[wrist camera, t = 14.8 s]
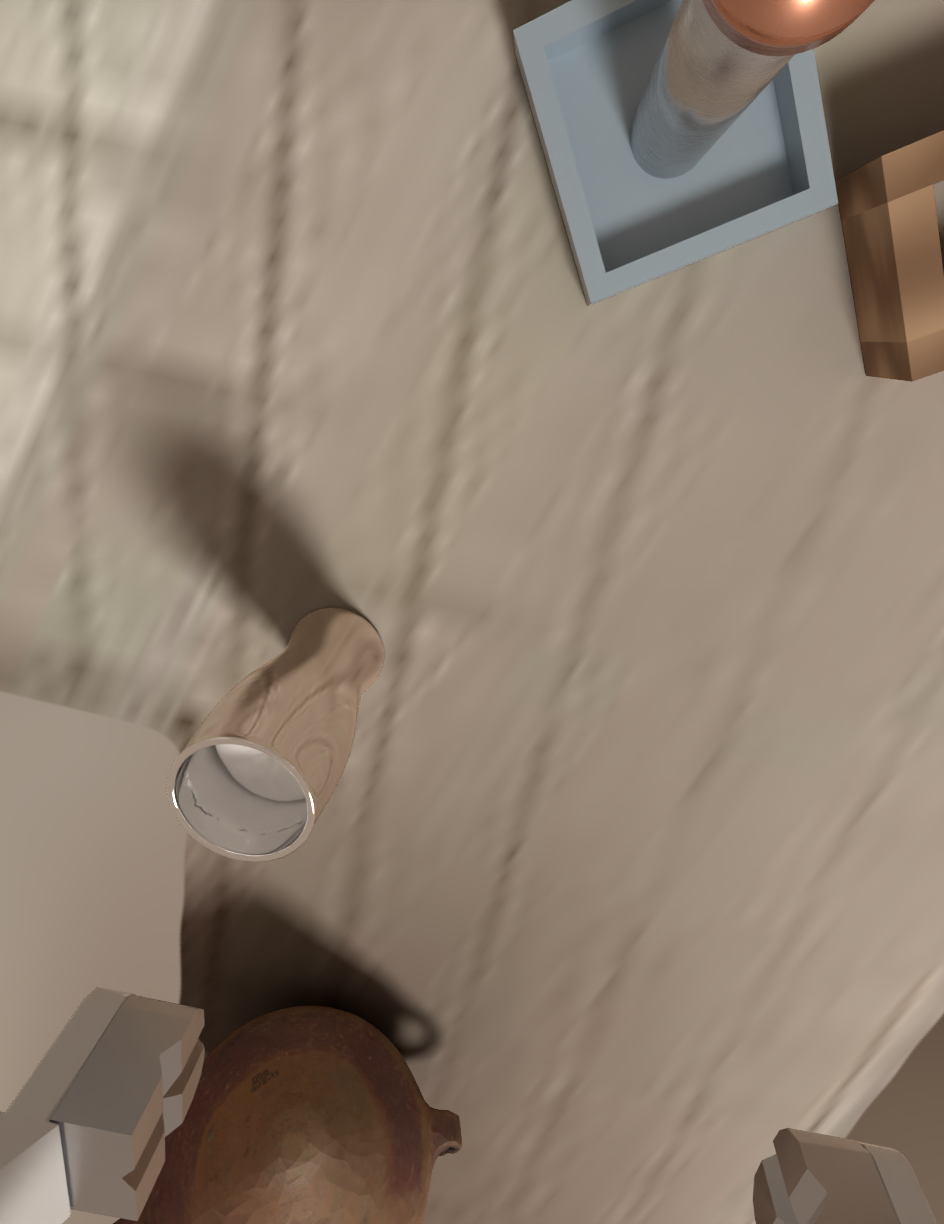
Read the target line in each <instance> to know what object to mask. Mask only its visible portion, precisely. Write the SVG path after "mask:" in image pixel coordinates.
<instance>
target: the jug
mask: <svg viewBox="0 0 944 1224" xmlns="http://www.w3.org/2000/svg"><path fill="white" fill-rule="evenodd" d="M461 1148H462V1138H461V1128H460V1121H459V1116H458V1115H456V1114H455V1113H453V1112H451V1111H449V1110H438V1109H434V1108H432V1107H430V1106H429V1105H428V1104H427V1103H426V1102H425V1100H424V1098H423V1096H422V1094H421V1092H420V1090H419V1087H418V1085H417V1083H416V1081H415V1079H414V1077H413V1075H412V1073H411V1071H410V1069H409V1067H408V1065H407V1063H406V1062H405V1060H404V1058H403V1057H402V1055H401V1054H400V1053H399V1051H398V1050H397V1048H396V1047H395V1046H394V1045H393V1044H392V1042H391V1041H390V1040H389V1039H388V1038H387V1037H386V1036H385V1035H384V1034H382V1033H381V1032H380V1031H379V1030H378V1029H377V1028H375V1027H374V1026H373V1025H371V1024H370V1023H368V1022H367V1021H365V1020H364V1019H362V1018H360V1017H358V1016H356V1015H354V1014H352V1013H349V1012H346V1011H342V1010H339V1009H335V1008H331V1007H323V1006H295V1007H289V1008H285V1009H281V1010H277V1011H273V1012H270V1013H267V1014H265V1015H262V1016H260V1017H257V1018H255V1019H253V1020H251V1021H250V1022H248V1023H246V1024H245V1025H243V1026H241V1027H240V1028H238V1029H237V1030H236V1031H235V1032H233V1033H232V1034H231V1035H230V1036H228V1037H227V1038H226V1039H225V1040H224V1041H222V1042H221V1043H220V1044H219V1045H218V1046H217V1047H216V1048H215V1049H214V1050H213V1051H212V1052H211V1053H210V1054H209V1055H208V1056H207V1057H206V1058H205V1059H204V1062H203V1067H202V1073H201V1076H200V1079H199V1082H198V1085H197V1088H196V1091H195V1095H194V1098H193V1100H192V1102H191V1105H190V1107H189V1109H188V1112H187V1114H186V1116H185V1118H184V1121H183V1123H182V1124H181V1125H179V1126H178V1127H177V1128H176V1129H174V1130H173V1131H172V1132H171V1133H170V1134H168V1135H167V1136H166V1137H165V1163H164V1165H163V1167H162V1169H161V1171H160V1173H159V1176H158V1178H157V1180H156V1182H155V1184H154V1186H153V1189H152V1191H151V1193H150V1195H149V1197H148V1200H147V1202H146V1204H145V1206H144V1208H143V1210H142V1213H141V1215H140V1217H139V1219H138V1221H134V1220H128V1219H123V1218H120V1219H119V1220H117V1221H116V1222H115V1223H113V1224H421V1223H422V1220H423V1216H424V1212H425V1208H426V1203H427V1197H428V1192H429V1186H430V1180H431V1173H432V1169H433V1166H434V1163H435V1160H436V1159H437V1157H438V1156H444V1155H445V1154H447V1153H451V1154H454V1153H456V1152H458V1151H459V1150H460V1149H461Z"/></svg>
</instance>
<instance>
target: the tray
mask: <svg viewBox="0 0 944 1224" xmlns="http://www.w3.org/2000/svg"><path fill="white" fill-rule="evenodd" d="M682 1H683V0H571V1H569V2H567V3H565V4H563V5H561V6H559V7H557V8H555V9H553V10H552V11H550V12H548V13H546V14H544V15H542V16H540V17H538V18H536V19H534V20H532V21H530V22H528V23H526V24H524V25H522V26H520V27H518V28H516V29H514V30H513V35H514V47H515V55H516V59H517V62H518V65H519V69H520V72H521V76H522V79H523V83H524V86H525V90H526V93H527V97H528V100H529V104H530V107H531V111H532V114H533V118H534V121H535V125H536V128H537V132H538V135H539V139H540V142H541V145H542V149H543V152H544V156H545V159H546V163H547V166H548V170H549V173H550V177H551V180H552V184H553V187H554V191H555V194H556V198H557V201H558V205H559V208H560V212H561V215H562V219H563V222H564V225H565V229H566V232H567V236H568V239H569V243H570V246H571V250H572V253H573V257H574V260H575V264H576V267H577V271H578V274H579V278H580V281H581V285H582V288H583V292H584V295H585V299H586V302H587V306H589V305H591V304H594V303H596V302H599V301H601V300H604V299H606V298H609V297H611V296H614V295H616V294H619V293H621V292H624V291H626V290H628V289H631V288H633V287H636V286H638V285H641V284H643V283H646V282H648V281H651V280H653V279H656V278H658V277H661V276H663V275H665V274H668V273H670V272H673V271H675V270H678V269H680V268H683V267H685V266H688V265H690V264H693V263H695V262H697V261H700V260H702V259H705V258H707V257H710V256H712V255H715V254H717V253H720V252H722V251H725V250H727V249H730V248H732V247H734V246H737V245H739V244H742V243H744V242H747V241H749V240H752V239H754V238H757V237H759V236H762V235H764V234H767V233H769V232H771V231H774V230H776V229H779V228H781V227H784V226H786V225H789V224H791V223H794V222H796V221H799V220H801V219H803V218H806V217H808V216H811V215H813V214H816V213H818V212H820V211H823V210H825V209H827V208H829V207H832V206H834V205H836V204H838V198H837V192H836V186H835V180H834V173H833V167H832V161H831V154H830V148H829V142H828V136H827V129H826V123H825V117H824V111H823V104H822V98H821V92H820V85H819V79H818V73H817V67H816V60H815V54H814V49H811V50H809V51H806V52H803V53H799V54H795V55H794V56H793V57H792V59H791V60H790V61H789V62H788V63H787V64H786V65H785V66H784V67H783V69H782V70H781V71H780V72H779V73H778V74H777V75H776V76H775V77H774V79H773V80H772V81H771V82H770V83H769V84H768V85H767V86H766V87H765V89H764V90H763V91H762V92H761V93H760V94H759V95H758V96H757V98H756V99H755V100H754V101H753V102H752V103H751V104H750V105H749V106H748V108H747V109H746V110H745V111H744V112H743V113H742V114H741V115H740V116H739V118H738V119H737V120H736V121H735V122H734V123H733V124H732V125H731V126H730V128H729V129H728V130H727V131H726V132H725V133H724V134H723V135H722V136H721V138H720V139H719V140H718V141H717V142H716V143H715V144H714V145H713V147H712V148H711V149H710V150H709V151H708V152H707V153H706V154H705V155H704V157H703V158H702V159H701V160H700V161H699V162H698V163H697V164H696V165H695V166H694V167H693V168H692V169H691V170H690V171H688V172H687V173H685V174H683V175H681V176H678V177H676V178H671V179H661V178H656V177H653V176H651V175H649V174H648V173H646V172H645V171H644V170H643V169H642V168H641V167H640V166H639V165H638V163H637V162H636V160H635V158H634V156H633V153H632V150H631V145H630V130H631V124H632V120H633V117H634V115H635V112H636V110H637V108H638V105H639V103H640V100H641V98H642V96H643V93H644V91H645V89H646V86H647V84H648V81H649V79H650V77H651V74H652V72H653V70H654V67H655V65H656V62H657V60H658V58H659V55H660V53H661V51H662V48H663V46H664V43H665V41H666V39H667V36H668V34H669V32H670V29H671V27H672V24H673V22H674V20H675V17H676V15H677V13H678V10H679V8H680V5H681V3H682Z"/></svg>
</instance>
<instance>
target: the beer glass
mask: <svg viewBox="0 0 944 1224" xmlns="http://www.w3.org/2000/svg"><path fill="white" fill-rule="evenodd" d="M383 664H384V647H383V643H382V641H381V638H380V636H379V634H378V633H377V631H376V630H375V628H374V627H373V626H372V625H371V624H370V623H369V622H368V621H367V620H366V619H364V618H363V617H362V616H360V615H358V614H356V613H354V612H352V611H349V610H346V609H342V608H322V609H318V610H315V611H313V612H311V613H309V614H307V615H306V616H305V617H303V618H302V619H301V620H300V621H299V622H298V624H297V625H296V626H295V628H294V630H293V632H292V634H291V637H290V640H289V643H288V645H287V646H286V649H285V650H284V651H283V652H282V653H280V654H279V655H277V656H276V657H274V658H273V659H271V660H270V661H268V662H267V663H265V664H264V665H262V666H261V667H259V668H258V669H256V670H255V671H253V672H252V673H250V674H249V675H248V676H247V677H245V678H244V679H243V680H242V681H240V682H239V683H238V684H236V685H235V686H234V687H233V688H232V689H231V690H230V691H229V692H228V693H227V694H226V695H225V696H224V697H223V698H222V699H221V700H220V701H219V702H218V703H217V705H216V706H215V707H214V708H213V710H212V711H211V712H210V713H209V714H208V716H207V717H206V718H205V719H204V721H203V722H202V724H201V725H200V726H199V728H198V729H197V731H196V732H195V733H194V735H193V736H192V738H191V739H190V741H189V742H188V744H187V745H186V747H185V748H184V750H183V751H182V753H181V754H180V755H179V756H178V757H177V758H176V759H175V761H174V762H173V764H172V766H171V768H170V771H169V775H168V778H167V795H168V800H169V804H170V806H171V809H172V811H173V813H174V815H175V817H176V819H177V820H178V822H179V823H180V825H181V826H182V827H183V828H184V829H185V830H186V832H187V833H188V834H189V835H190V836H191V837H193V838H194V839H195V840H196V841H197V842H199V843H200V844H202V845H203V846H205V847H206V848H208V849H210V850H211V851H213V852H215V853H218V854H220V855H222V856H225V857H228V858H231V859H235V860H240V861H247V862H265V861H271V860H275V859H279V858H282V857H284V856H287V855H289V854H290V853H292V852H294V851H295V850H297V849H298V848H299V847H300V846H301V845H302V844H303V843H304V842H305V841H306V839H307V838H308V837H309V835H310V833H311V831H312V828H313V826H314V824H315V823H316V821H317V819H318V818H319V816H320V815H321V813H322V811H323V810H324V808H325V806H326V805H327V803H328V801H329V800H330V798H331V796H332V794H333V792H334V790H335V788H336V786H337V785H338V783H339V781H340V779H341V776H342V774H343V772H344V769H345V767H346V764H347V761H348V759H349V756H350V753H351V749H352V745H353V741H354V737H355V732H356V725H357V719H358V712H359V705H360V700H361V697H362V695H363V694H364V693H365V692H366V691H367V690H368V689H369V688H370V687H371V686H372V685H373V683H374V682H375V681H376V680H377V678H378V677H379V675H380V673H381V671H382V668H383Z"/></svg>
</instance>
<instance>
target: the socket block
mask: <svg viewBox="0 0 944 1224" xmlns="http://www.w3.org/2000/svg"><path fill="white" fill-rule="evenodd" d="M943 180H944V130H943V131H941V132H938V133H936V134H933V135H931V136H929V137H926V138H924V139H921V140H919V141H917V142H914V143H912V144H909V145H907V146H905V147H902V148H900V149H897V150H895V151H893V152H890V153H888V154H885V155H883V156H881V157H879V158H877V159H875V160H873V161H871V162H869V163H867V164H866V165H864V166H862V167H860V168H858V169H856V170H854V171H852V172H850V173H849V174H847V175H845V176H843V177H841V178H839V179H837V180H835V184H836V190H837V196H838V203H839V209H840V215H841V221H842V228H843V234H844V240H845V247H846V253H847V259H848V265H849V272H850V278H851V284H852V290H853V297H854V303H855V309H856V316H857V322H858V328H859V334H860V341H861V347H862V353H863V359H864V366H865V372H866V376H872V377H880V378H889V379H897V380H905V381H915V380H917V379H920V378H923V377H926V376H929V375H932V374H935V373H938V372H941V371H944V274H943V265H942V256H941V248H940V239H939V230H938V222H937V213H936V204H935V196H934V187H933V184H935V183H938V182H940V181H943Z"/></svg>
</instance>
